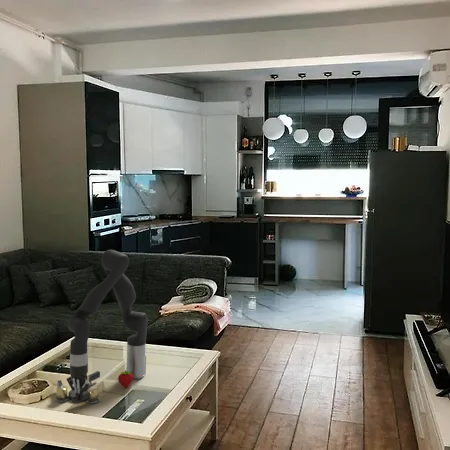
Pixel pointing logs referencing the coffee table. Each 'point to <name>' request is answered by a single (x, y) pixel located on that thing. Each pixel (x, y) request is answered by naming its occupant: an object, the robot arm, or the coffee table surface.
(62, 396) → the foot screw
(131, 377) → the strawberry
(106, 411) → the coffee table surface
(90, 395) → the foot screw
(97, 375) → the footscrew back
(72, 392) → the levelling base
